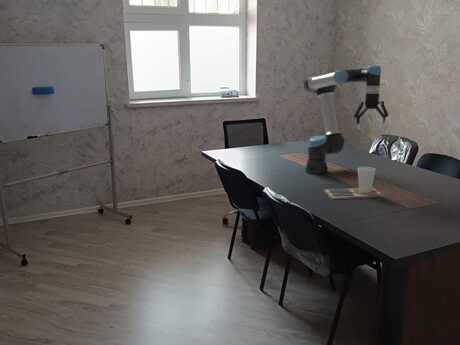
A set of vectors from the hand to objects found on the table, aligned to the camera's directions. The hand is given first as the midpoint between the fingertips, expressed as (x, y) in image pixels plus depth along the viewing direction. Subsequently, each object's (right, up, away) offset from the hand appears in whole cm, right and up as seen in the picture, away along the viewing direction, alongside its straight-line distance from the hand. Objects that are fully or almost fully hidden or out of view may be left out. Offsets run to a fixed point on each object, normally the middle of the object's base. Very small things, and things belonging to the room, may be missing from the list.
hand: (370, 129), depth 258 cm
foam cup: (-7, -37, -13) cm, 40 cm away
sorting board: (-14, -38, -13) cm, 43 cm away
